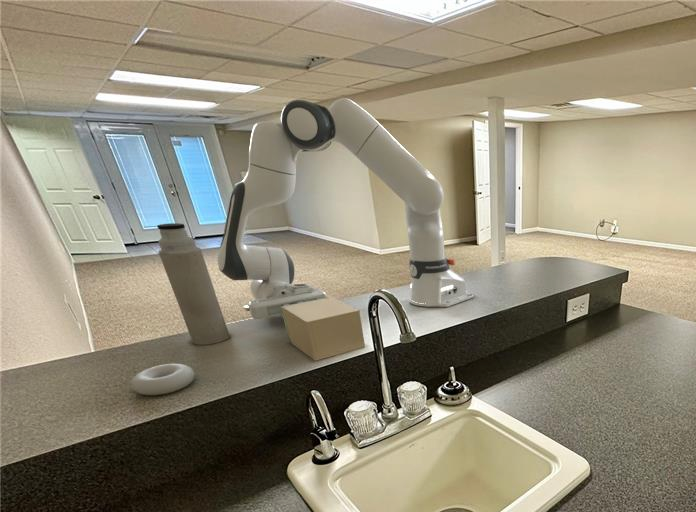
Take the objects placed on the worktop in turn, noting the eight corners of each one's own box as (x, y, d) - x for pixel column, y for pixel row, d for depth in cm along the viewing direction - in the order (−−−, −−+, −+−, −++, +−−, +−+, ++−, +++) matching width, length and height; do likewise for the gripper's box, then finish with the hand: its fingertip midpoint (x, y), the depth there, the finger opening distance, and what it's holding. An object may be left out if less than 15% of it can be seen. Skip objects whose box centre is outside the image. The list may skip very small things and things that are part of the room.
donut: (204, 385, 83) (187, 370, 89) (198, 371, 81) (182, 356, 87) (143, 404, 76) (129, 386, 82) (135, 388, 75) (122, 371, 80)
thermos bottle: (208, 332, 108) (169, 221, 95) (236, 334, 108) (200, 222, 94) (184, 343, 101) (138, 225, 88) (214, 345, 101) (172, 226, 87)
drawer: (281, 331, 108) (274, 302, 104) (323, 321, 115) (318, 294, 112) (308, 350, 97) (301, 320, 94) (353, 338, 105) (348, 309, 101)
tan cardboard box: (291, 343, 103) (282, 307, 99) (339, 331, 111) (332, 297, 107) (315, 360, 94) (306, 322, 90) (365, 346, 102) (359, 310, 98)
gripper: (237, 295, 110) (254, 307, 101) (313, 282, 123) (333, 292, 114) (244, 317, 113) (261, 330, 104) (317, 302, 126) (338, 313, 117)
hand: (300, 310), depth 110 cm, fingers closed, pressing on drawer
